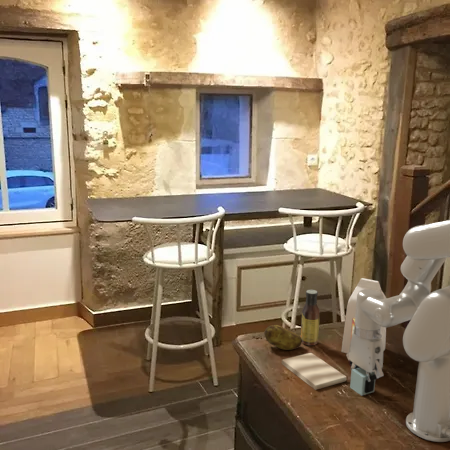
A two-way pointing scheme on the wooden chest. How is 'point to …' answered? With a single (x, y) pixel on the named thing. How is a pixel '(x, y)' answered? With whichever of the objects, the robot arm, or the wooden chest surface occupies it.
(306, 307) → the sauce bottle
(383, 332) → the milk
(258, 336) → the wooden chest surface
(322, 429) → the wooden chest surface
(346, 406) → the wooden chest surface
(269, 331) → the potato
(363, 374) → the teal block
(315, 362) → the birch board
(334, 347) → the wooden chest surface
